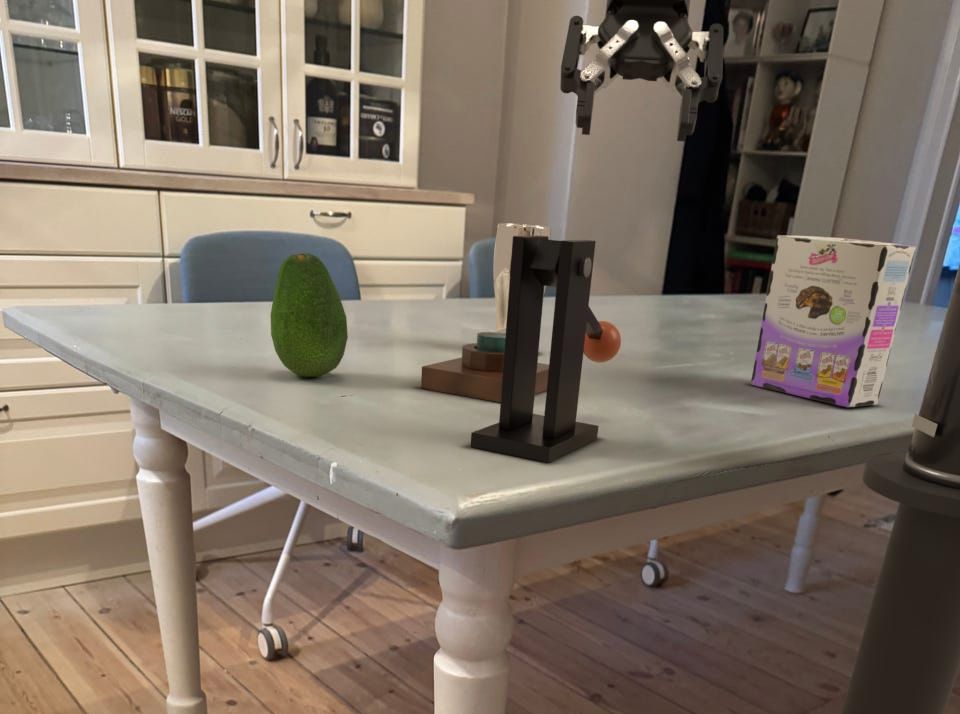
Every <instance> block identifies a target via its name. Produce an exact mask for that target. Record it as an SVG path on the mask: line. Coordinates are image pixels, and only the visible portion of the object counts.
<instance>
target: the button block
mask: <svg viewBox="0 0 960 714" xmlns="http://www.w3.org/2000/svg"><path fill="white" fill-rule="evenodd" d="M461 348H462V349H461V350H462V351H461V357H458V358H453V359H449V360H444V361H439V362H436V363H431V364H427V365H423V366H421V380H420V388H421V389H423V390H429V391H434V392H440V393H445V394H451V395H457V396H462V397H468V398H473V399H479V400H485V401H489V402H490V401H491V402H494V403H495V402H496V403H500V404H501V392H502V378H503V364H504V352H491V351H483V350H478V349H477V342H475V343H474V342H473V343H467V344H462V347H461ZM548 372H549V363H543V362H538V363H537V374H536V385H535V395H537V394H539V393H543V392H545V391H546V392H547V382H548Z"/></svg>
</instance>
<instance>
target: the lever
mask: <svg viewBox="0 0 960 714" xmlns="http://www.w3.org/2000/svg"><path fill="white" fill-rule="evenodd" d="M561 241H562V240H557V239H551V240H546V239H538V242H537V245H536V248H535V252H534V255H533V258H532V261H531V264H530V269H531V271H532V272H533V274H534V275H535V277H536V278H537V280H538V281H539V283H540V284H541V285H543V286H546V287H552V288H556V287H557V277H558V266H559V255H560V245H561ZM621 345H622V337H621V334H620V331H619V329H618V328H617V327H616V326H615V324H613V323H612V322H609V321H606V320H598V319H597V317H596V315H595V314H594V312H593V311H592V309H591V307H590V305H589V306H588V315H587V324H586V334H585V343H584V352H583V355H585V357H586V358H587V359H588V360H590V361H591V362H595V363H600V364H601V363H606V362H609V361H611V360H612V359H614V358H615V357H616V355H617V354H618V353H619V350H620V349H621Z"/></svg>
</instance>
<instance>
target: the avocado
mask: <svg viewBox="0 0 960 714" xmlns="http://www.w3.org/2000/svg"><path fill="white" fill-rule="evenodd" d="M325 265H326V264H324V262H323V261H322V260H321V259H320V258H319V257H318V256H316V255H314V254H311V253H309V252H304V253H297V254H296V253H295V254H290V255H289V256H288V257H286V259H285V260H283V261H282V263H281V264H280V267H279V270H278V273H277V275H276V276H277V277H276V282H275V286H274V294H273V297H272V305H271V310H270V336H271V340H272V344H273V347H274V351H275V353H276V355H277V356H278V359H279V360H280V362H281V364H282V365H283V367H285V368H286V369H288V370H289V371H290V372H292V373H293V374H295V375H296V376H298V377H303V378H308V379H309V378H316V377H322V376H324V375H327V374H329V373H331V372H332V371H334V370H336V369H337V368H338V366H339V365H340V363H341V361H342V360H343V358H344V356H345V351H346V347H347V342H348V338H349V335H348V321H347V320H348V319H347V315H346V312H345V311H346V310H345V309H344V306H343V303H342V299H341V296H340V294H339V292H338V290H337V287H336V285H335V283H334V281H333V278H332V277H331V274H330V273H329V271H328V268H327V266H325Z"/></svg>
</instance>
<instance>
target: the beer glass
mask: <svg viewBox="0 0 960 714" xmlns="http://www.w3.org/2000/svg"><path fill="white" fill-rule="evenodd" d="M551 233H552V227H551V226H548V225H537V224H529V223H527V224H524V223H512V222H511V223H510V222H509V223H508V222H498V223H497V229H496V237H495V244H494V250H493V251H494V252H493V269H492V272H493V275H492V276H493V291H494V300H495V301H494V302H495V313H496V314H495V315H496V316H495V319H496V321H495V329H494V332H497V333H505V334H506V323H507V310H508V296H509V283H510V269H511V255H512V242H513V236H537V235H539V236H548V237H549V239H548V240H552V239H551ZM546 288H547V286H544V293H545V292H546ZM544 296H545V294H544V295H543V297H544Z"/></svg>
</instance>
